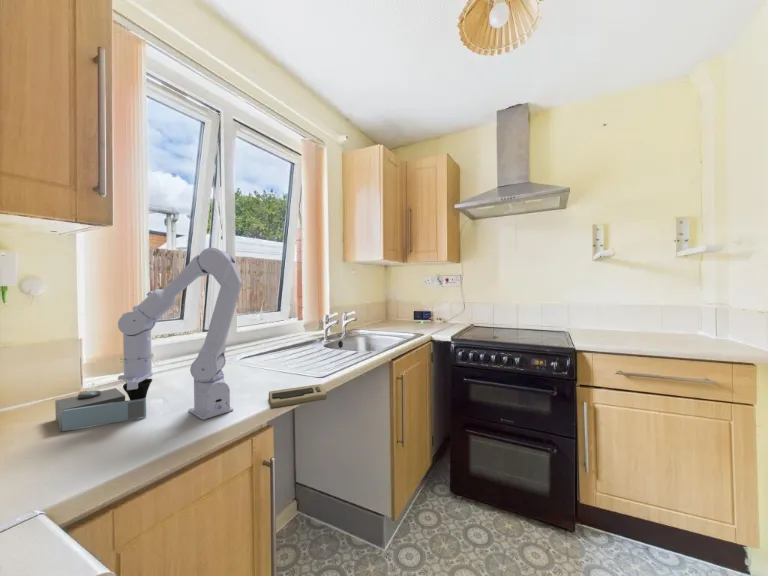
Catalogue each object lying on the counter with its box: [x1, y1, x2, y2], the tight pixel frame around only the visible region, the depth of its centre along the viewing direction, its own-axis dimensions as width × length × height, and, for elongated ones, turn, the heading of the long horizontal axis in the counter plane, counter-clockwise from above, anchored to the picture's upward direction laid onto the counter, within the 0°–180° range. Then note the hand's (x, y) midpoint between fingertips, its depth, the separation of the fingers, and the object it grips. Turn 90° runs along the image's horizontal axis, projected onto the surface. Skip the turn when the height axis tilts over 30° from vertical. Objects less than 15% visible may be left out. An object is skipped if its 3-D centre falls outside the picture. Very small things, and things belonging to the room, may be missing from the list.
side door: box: [58, 397, 147, 433], centre depth 78 cm, size 16×1×5 cm, turn 119°
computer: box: [268, 383, 327, 409], centre depth 94 cm, size 16×8×3 cm, turn 115°
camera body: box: [54, 387, 126, 426], centre depth 82 cm, size 10×12×6 cm
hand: (138, 409), depth 83 cm, fingers closed
